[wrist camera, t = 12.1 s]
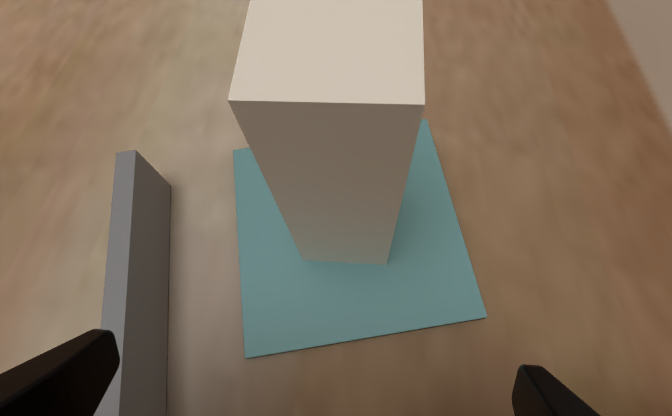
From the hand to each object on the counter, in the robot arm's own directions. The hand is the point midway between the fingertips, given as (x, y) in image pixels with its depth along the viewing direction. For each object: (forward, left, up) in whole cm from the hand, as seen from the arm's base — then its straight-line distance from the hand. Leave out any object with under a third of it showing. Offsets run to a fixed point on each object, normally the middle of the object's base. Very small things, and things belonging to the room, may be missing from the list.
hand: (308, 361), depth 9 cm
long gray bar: (+4, +9, -11) cm, 15 cm away
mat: (+7, -2, -11) cm, 13 cm away
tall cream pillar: (+7, -2, -11) cm, 13 cm away
